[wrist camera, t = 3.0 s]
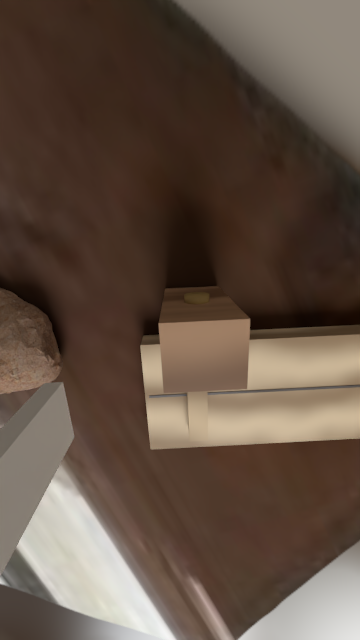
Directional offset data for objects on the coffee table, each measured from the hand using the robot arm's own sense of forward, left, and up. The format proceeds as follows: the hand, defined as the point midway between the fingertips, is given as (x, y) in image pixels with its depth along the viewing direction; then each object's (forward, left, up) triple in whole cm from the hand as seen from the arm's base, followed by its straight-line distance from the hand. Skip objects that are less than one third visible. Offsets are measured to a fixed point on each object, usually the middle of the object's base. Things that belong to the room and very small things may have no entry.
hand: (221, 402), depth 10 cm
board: (+8, +7, -15) cm, 18 cm away
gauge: (+5, 0, -14) cm, 15 cm away
